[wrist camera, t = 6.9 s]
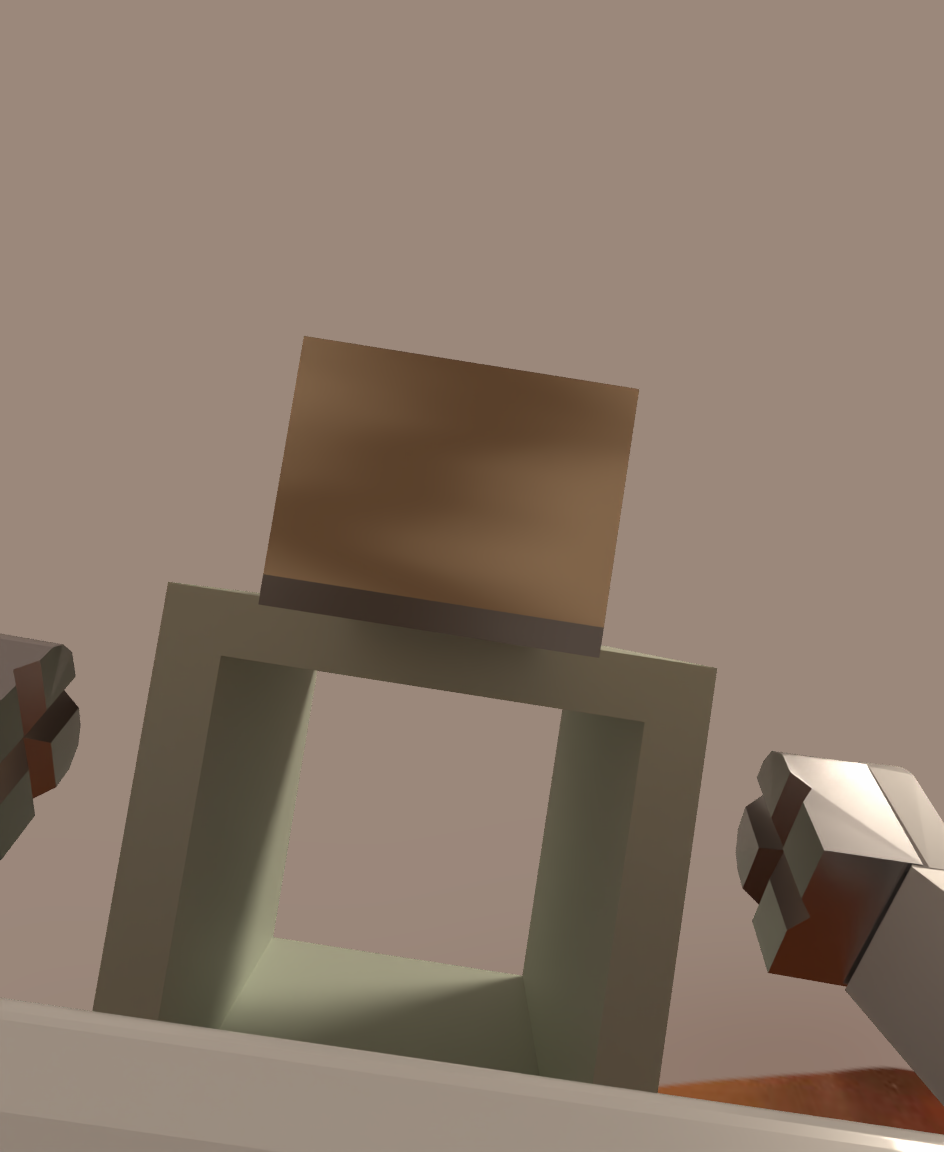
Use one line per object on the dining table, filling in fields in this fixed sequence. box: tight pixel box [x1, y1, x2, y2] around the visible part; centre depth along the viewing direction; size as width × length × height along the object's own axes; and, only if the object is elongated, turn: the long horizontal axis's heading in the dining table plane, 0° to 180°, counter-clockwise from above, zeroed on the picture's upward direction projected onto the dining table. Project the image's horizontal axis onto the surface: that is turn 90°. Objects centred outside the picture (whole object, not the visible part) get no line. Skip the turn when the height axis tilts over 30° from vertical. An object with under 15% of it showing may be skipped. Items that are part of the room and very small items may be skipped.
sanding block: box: [258, 336, 639, 658], centre depth 20 cm, size 4×19×4 cm, turn 1°
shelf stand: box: [93, 582, 717, 1093], centre depth 25 cm, size 13×14×26 cm
